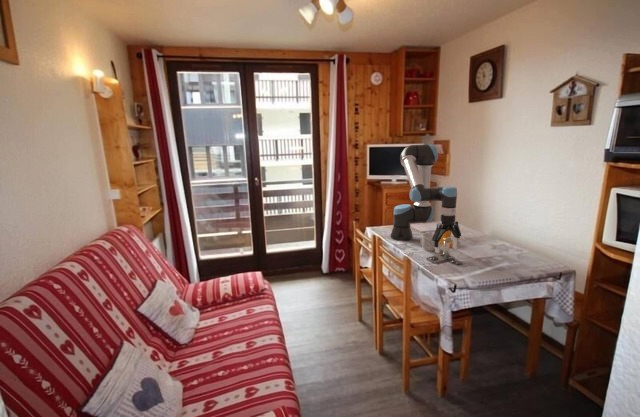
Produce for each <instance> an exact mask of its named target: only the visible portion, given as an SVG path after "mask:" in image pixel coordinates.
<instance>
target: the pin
mask: <svg viewBox="0 0 640 417" xmlns="http://www.w3.org/2000/svg"><path fill="white" fill-rule="evenodd" d="M443 241H444V246H443V251H442V252H443V253H442V254H443V257H444V258H448V257H449V255H450V254H449V253H450V247H449V244H450V241H451V242H452V239H451V237H448V238H443Z"/></svg>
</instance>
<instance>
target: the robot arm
mask: <svg viewBox="0 0 640 417" xmlns="http://www.w3.org/2000/svg"><path fill="white" fill-rule="evenodd" d="M438 158H439V153H438V149H437V147H436V145H434V144H429V143H426V144H410V145H408V146H405V148H404V149H403V150H402V151H401V152H400V156H399V160H400V161H399V162H400V164H401V166H402V167H404V172H405V175H406V176H407V177H406V178H407V179H408V180H407V181H408V183H409V186H410V190H409V199H410V201H411V202H413V206H412V205H411V204H408V203H406V204H403V203H402V204H398V205H396V206H394V207H393V226H392V230H391V233H390V238H391V239H392V240H395V241H400V242H401V241H402V242H404V241H410V240H413V237H414V235H413V232H412V228H411V224H426V223H427V224H428V223H431V221H432V220H433V219H434V214H435V211H434V210H435V209H434V206H432V203H430V202H441V209H440V210H441V211H440V222H441V223H437V224H436V228H435V231H434V233H433V234H434V235H433V238H432V241H435V248H434V252H435V253H436V254H440V253H441V252H440V251H441V249H440V248H441V244H440V242H439V241H440V239H441V237H442V236H443V234H444V233H445V232H446V231H451V235H453V237H452V242H453V246H452V247H451V249H455V250H458V243H459V239H460V238H461V237H462V233H461V230H460V227H459V221H456V210H457V199H458V189H457V187H456V186H450V185H449V186H437V187H431V177H432V175H431V173H432V167H434V165H435V163H436V162H437V161H438Z"/></svg>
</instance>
